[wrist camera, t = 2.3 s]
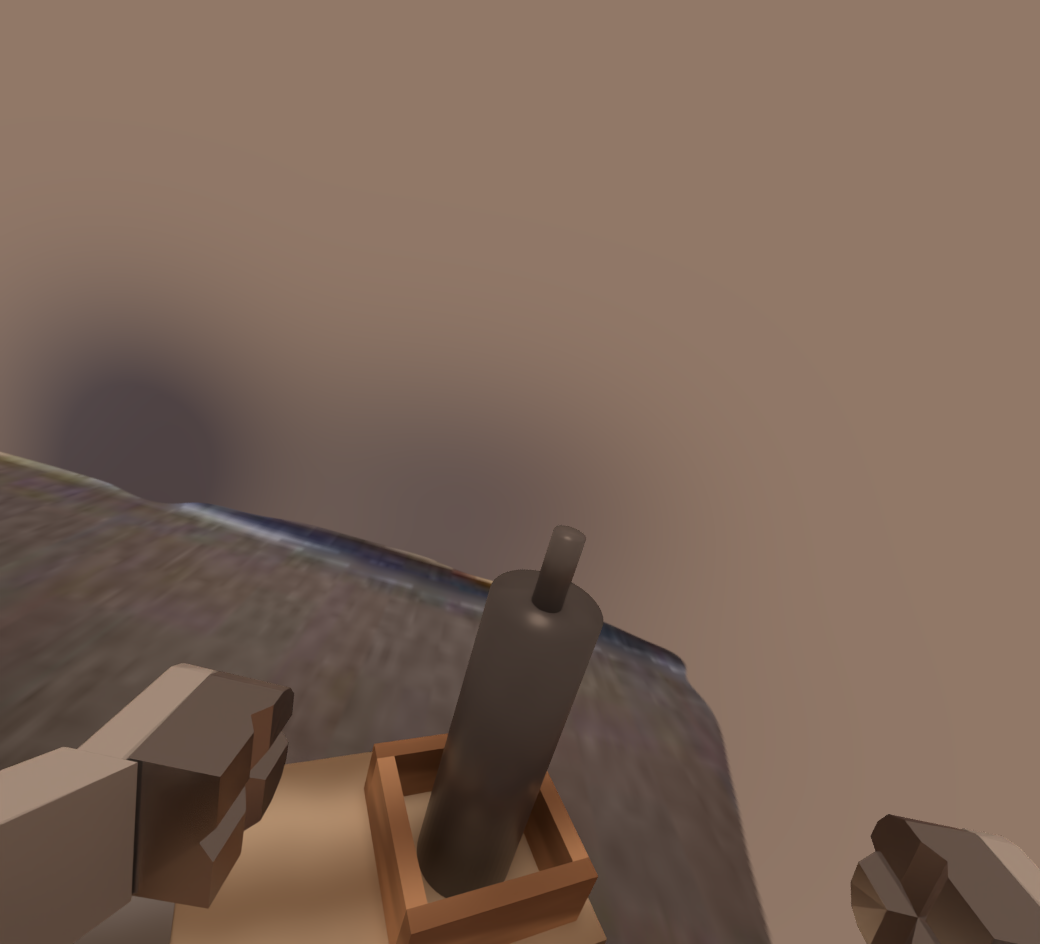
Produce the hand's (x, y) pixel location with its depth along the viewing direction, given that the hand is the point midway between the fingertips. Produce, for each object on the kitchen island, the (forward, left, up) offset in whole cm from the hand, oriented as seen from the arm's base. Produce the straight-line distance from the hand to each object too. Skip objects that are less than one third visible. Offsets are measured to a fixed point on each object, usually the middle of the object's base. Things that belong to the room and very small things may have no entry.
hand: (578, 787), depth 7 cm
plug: (-10, +6, -19) cm, 22 cm away
